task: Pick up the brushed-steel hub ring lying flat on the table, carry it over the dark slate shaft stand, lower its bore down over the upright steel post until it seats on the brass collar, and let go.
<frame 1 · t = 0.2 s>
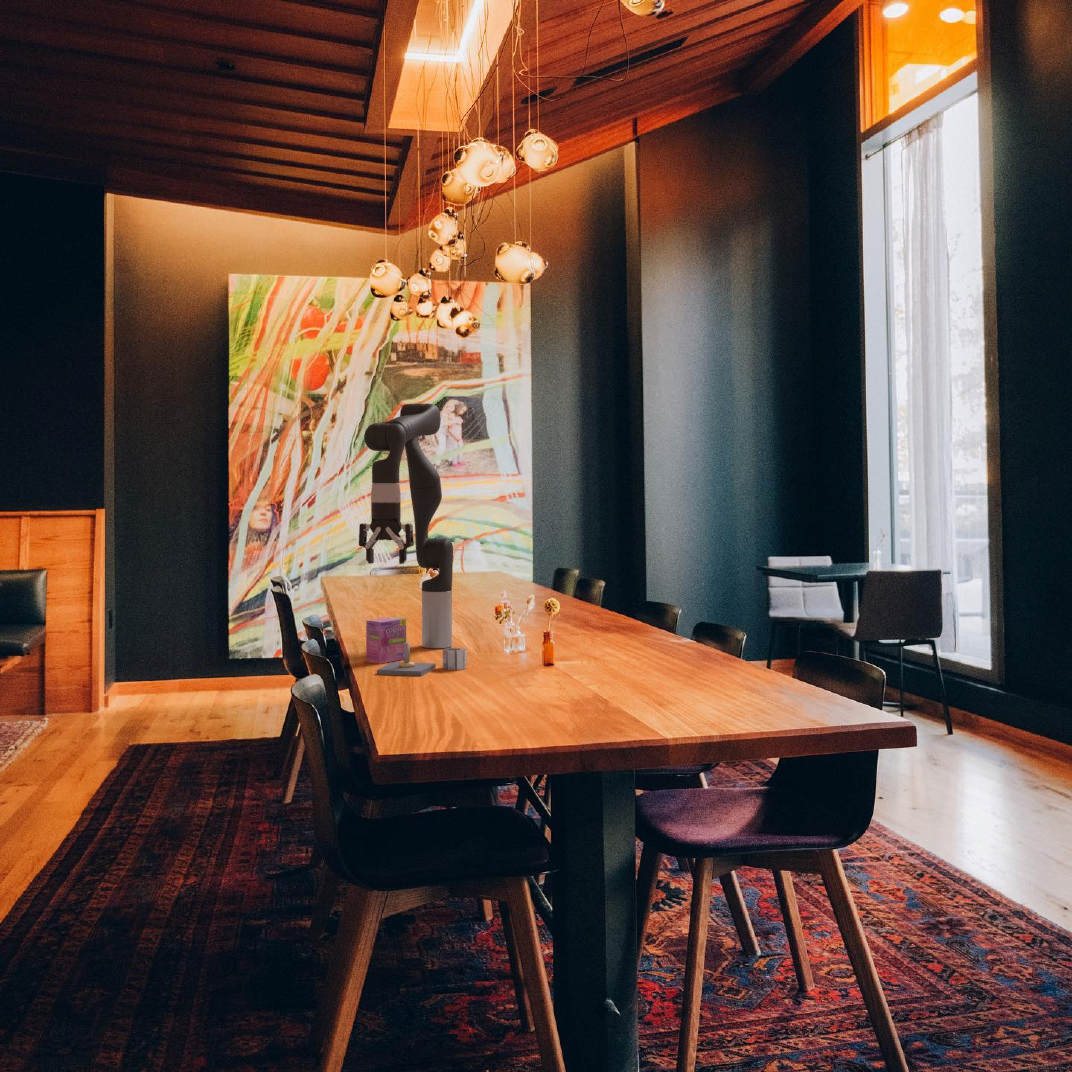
hand: (386, 563, 241), 29 cm above the table, fingers open, 8 cm apart
hub: (454, 667, 249), on the table
box: (386, 661, 260), on the table
shaft stand: (406, 671, 244), on the table
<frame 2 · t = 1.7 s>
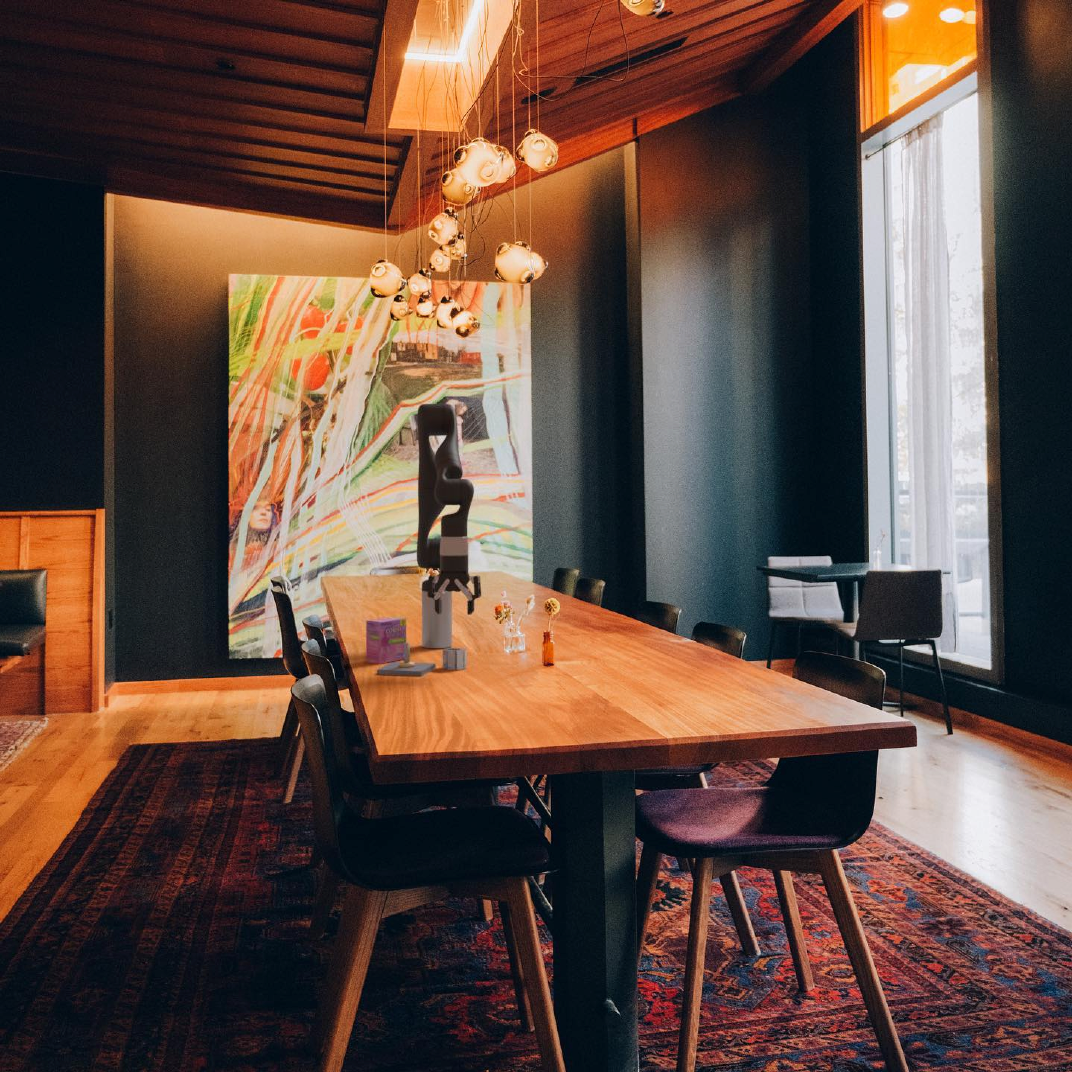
hand: (454, 614, 248), 15 cm above the table, fingers open, 8 cm apart
nothing on the table moved.
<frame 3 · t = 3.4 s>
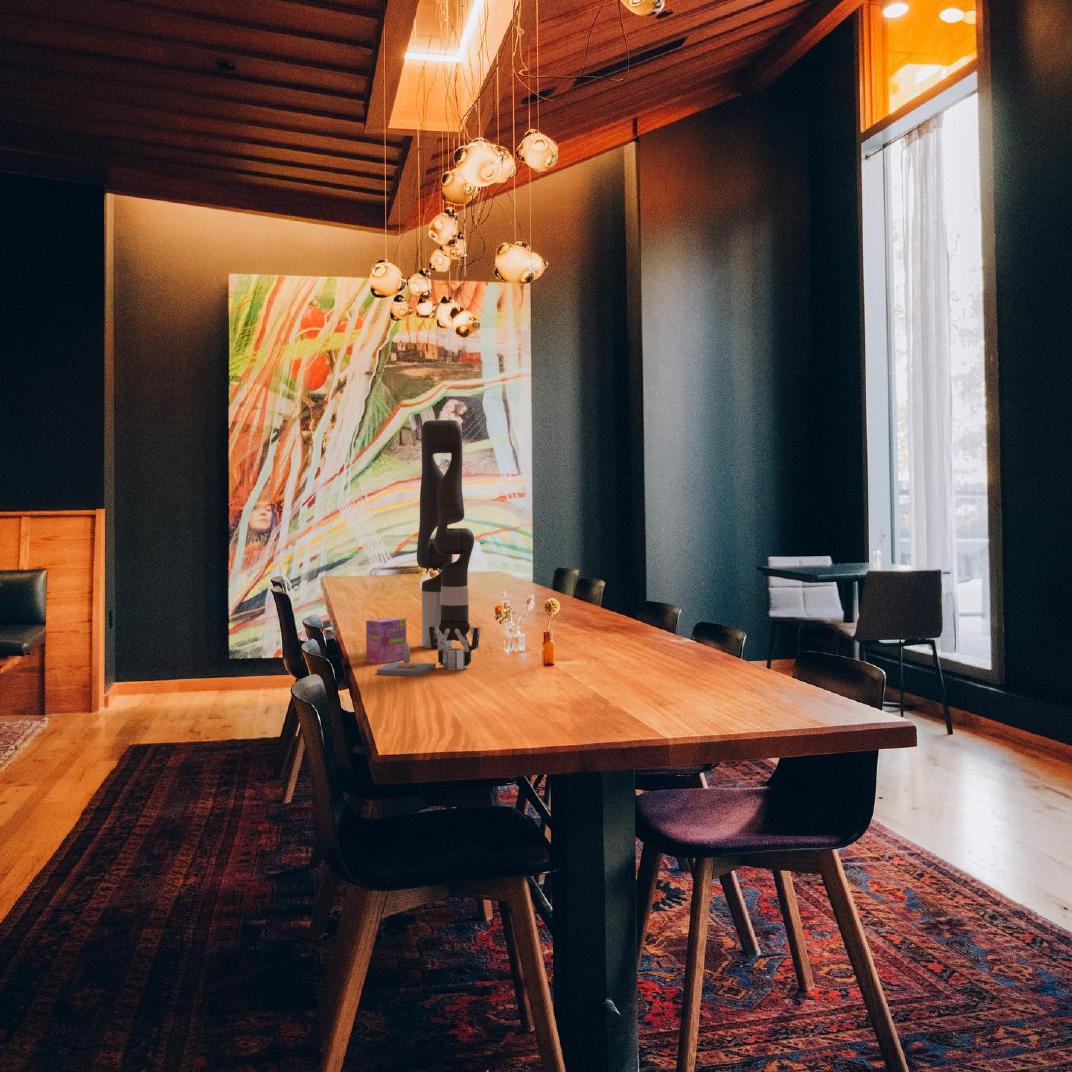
hand: (454, 664, 249), 1 cm above the table, fingers closed on hub, 6 cm apart
hub: (454, 667, 249), on the table, touching gripper
everything else where it was.
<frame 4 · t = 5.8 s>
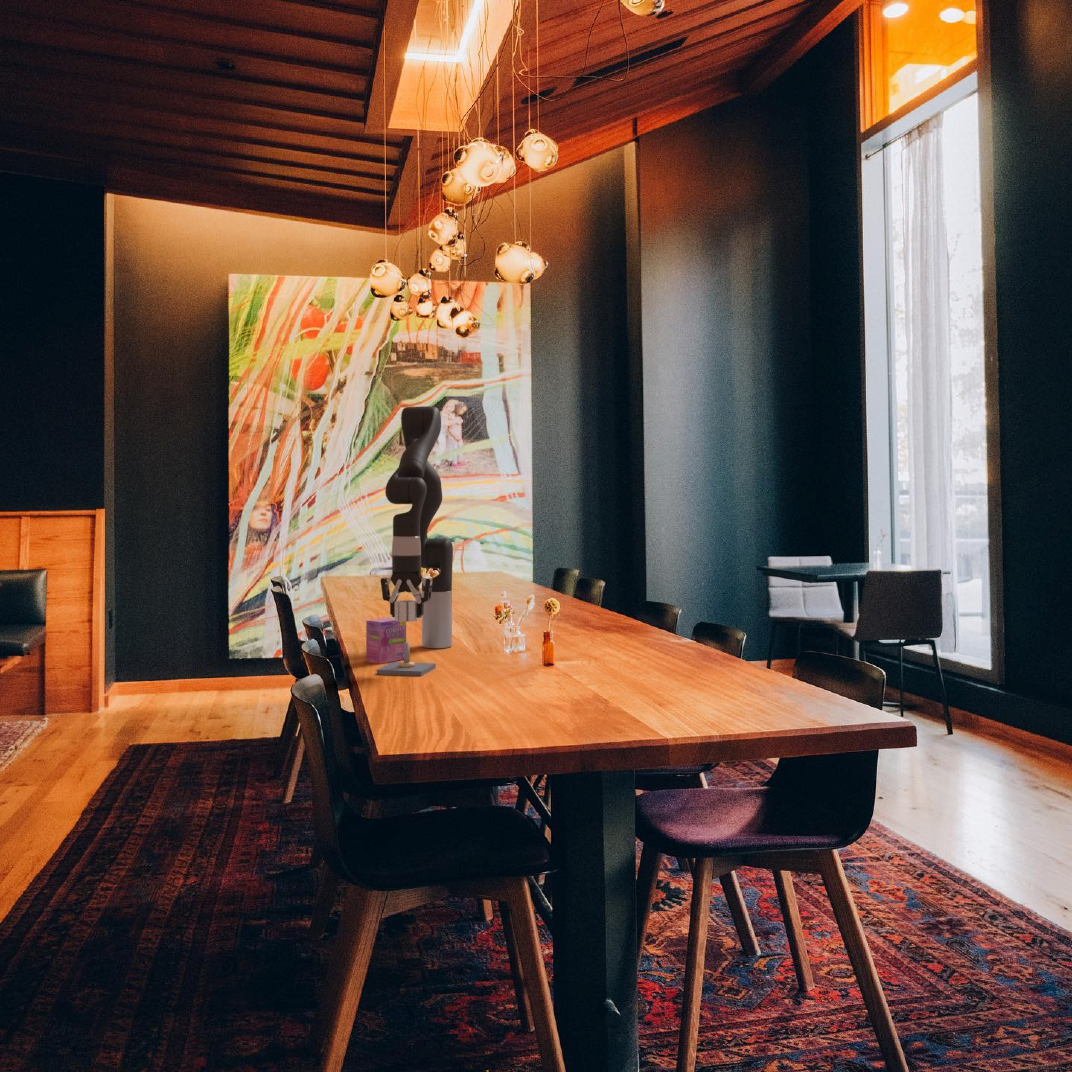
hand: (406, 617, 244), 14 cm above the table, fingers closed on hub, 6 cm apart
hub: (406, 620, 244), point 13 cm above the table, touching gripper
everything else where it was.
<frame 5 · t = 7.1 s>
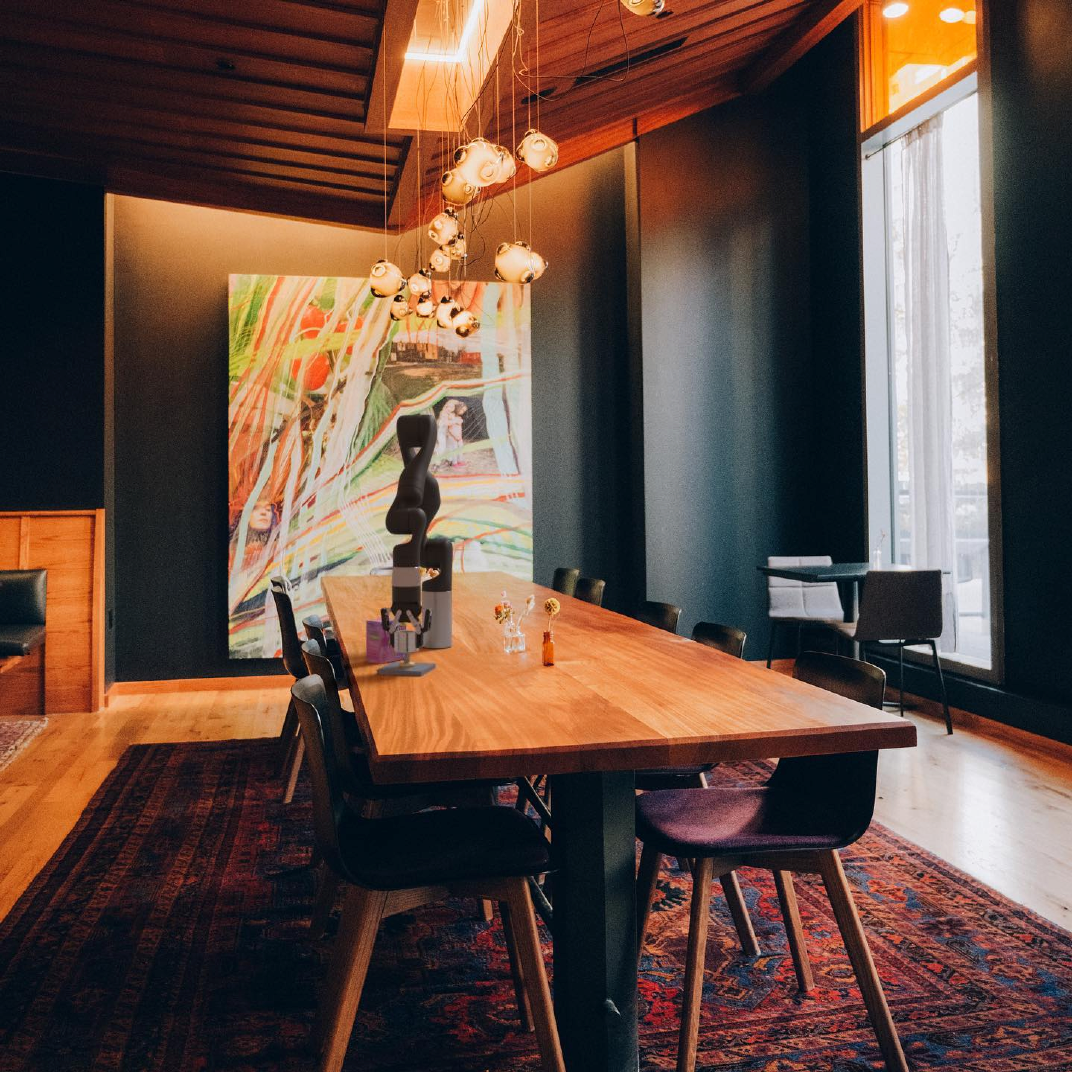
hand: (406, 647, 244), 6 cm above the table, fingers closed on hub, 6 cm apart
hub: (406, 650, 244), point 5 cm above the table, touching gripper
everything else where it was.
when the fingers open (3 cm above the table, at t = 8.2 s): hub stays where it is, resting on shaft stand.
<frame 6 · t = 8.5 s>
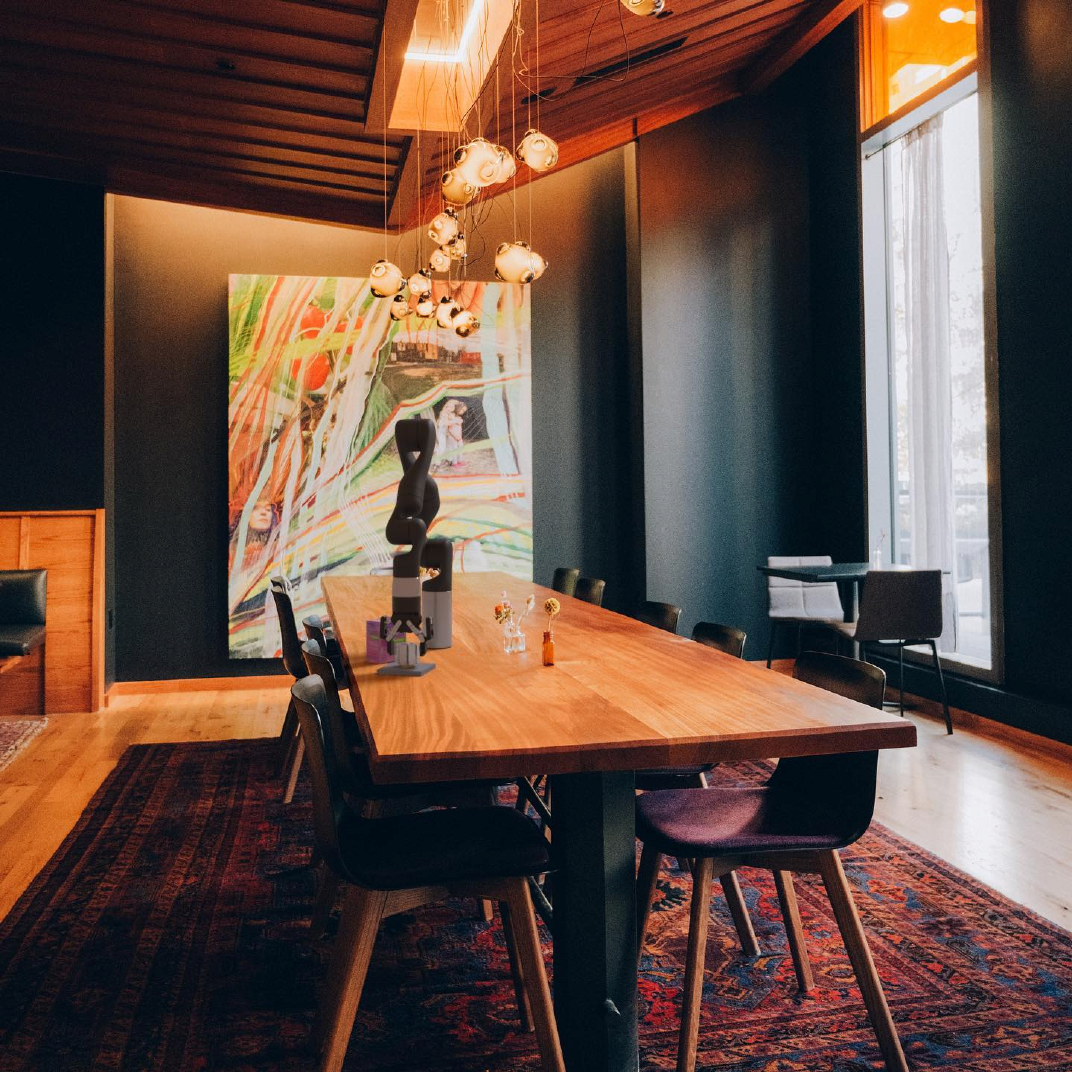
hand: (406, 655, 244), 4 cm above the table, fingers open, 8 cm apart
hub: (407, 662, 244), point 2 cm above the table, touching shaft stand
everything else where it was.
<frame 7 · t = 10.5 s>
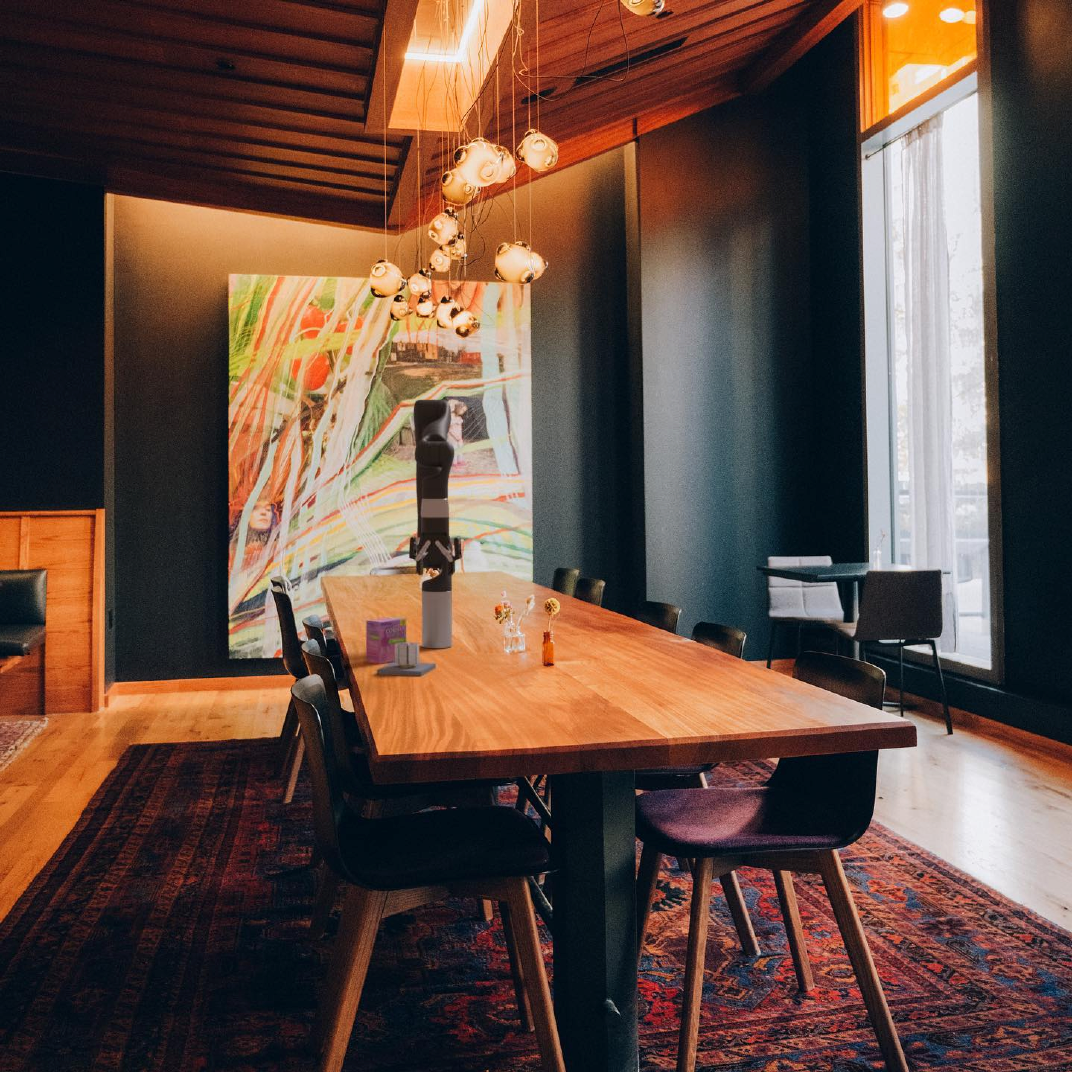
hand: (435, 575, 252), 25 cm above the table, fingers open, 8 cm apart
nothing on the table moved.
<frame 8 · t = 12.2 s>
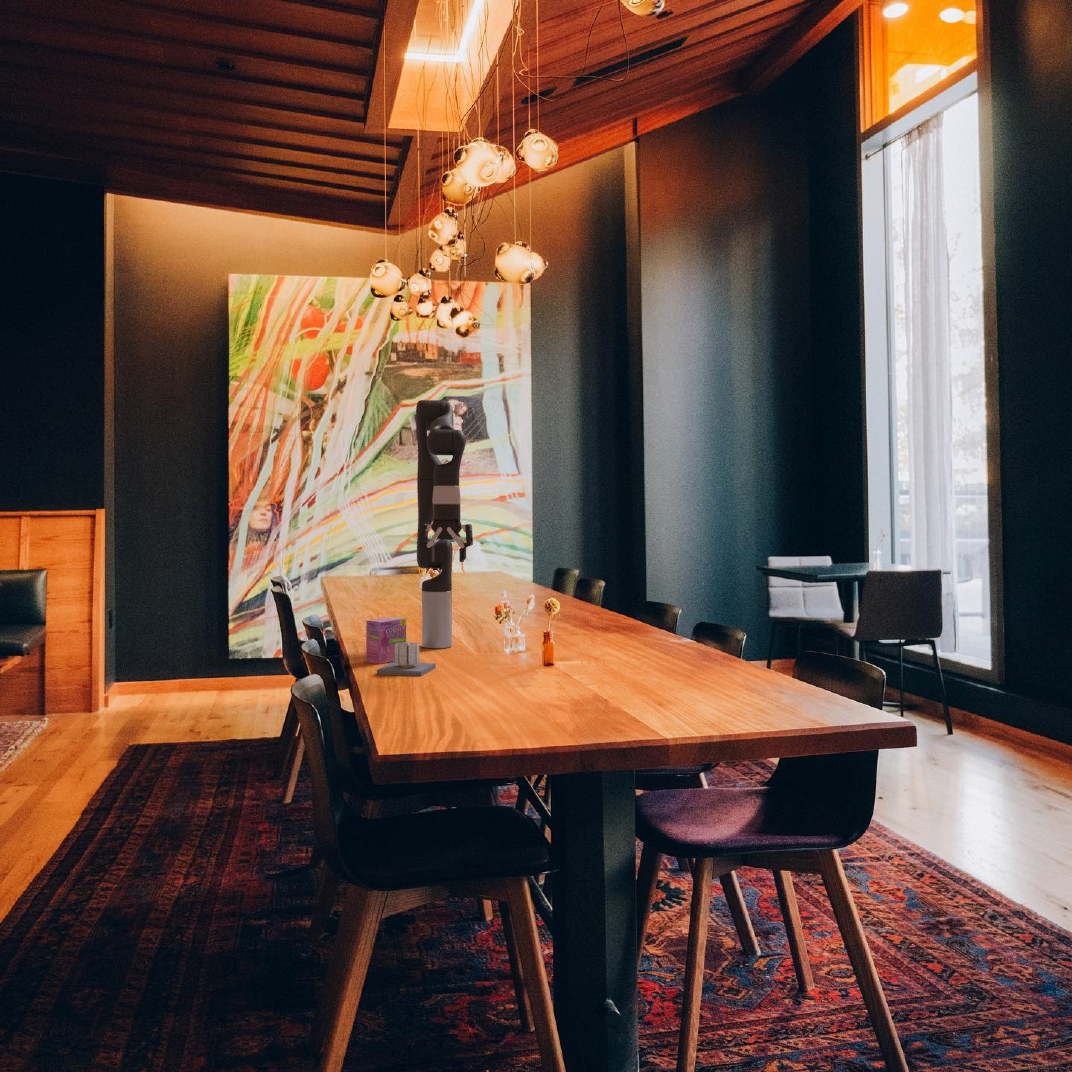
hand: (446, 561, 255), 28 cm above the table, fingers open, 8 cm apart
nothing on the table moved.
at the end: hub 0.1 cm off-centre on the shaft stand, point 2.2 cm above the shaft stand's base; hub tilted 0°; the gripper is holding nothing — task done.
